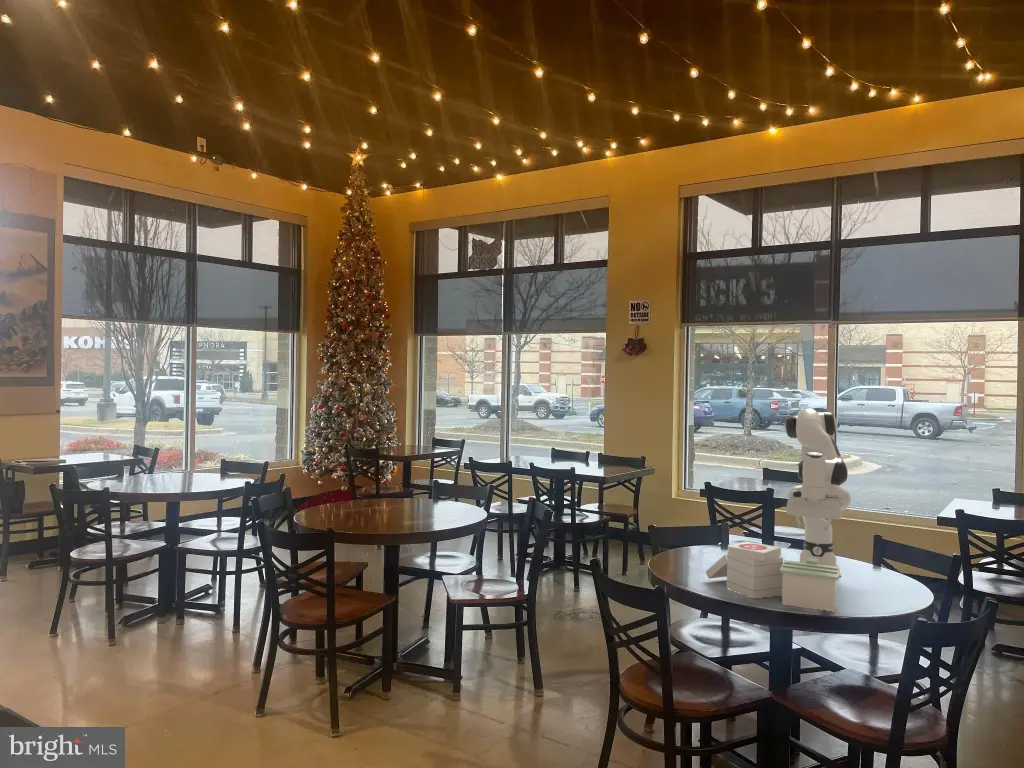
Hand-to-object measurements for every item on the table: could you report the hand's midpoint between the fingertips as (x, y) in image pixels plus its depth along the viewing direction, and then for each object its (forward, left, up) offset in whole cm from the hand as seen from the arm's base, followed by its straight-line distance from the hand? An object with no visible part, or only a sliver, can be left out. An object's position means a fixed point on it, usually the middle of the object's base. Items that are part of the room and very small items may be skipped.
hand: (813, 528), depth 280 cm
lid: (+10, 0, -16) cm, 18 cm away
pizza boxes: (+5, -25, -26) cm, 37 cm away
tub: (+12, 0, -26) cm, 29 cm away
